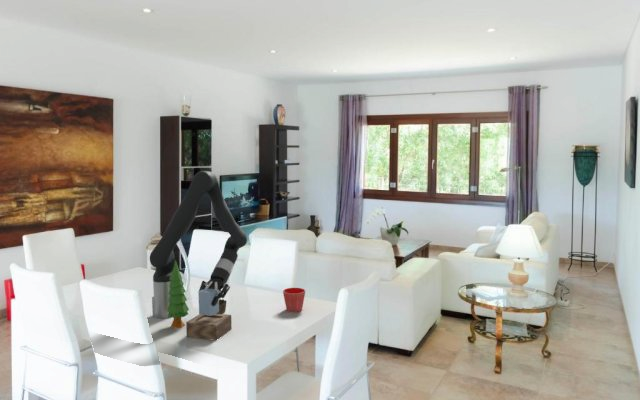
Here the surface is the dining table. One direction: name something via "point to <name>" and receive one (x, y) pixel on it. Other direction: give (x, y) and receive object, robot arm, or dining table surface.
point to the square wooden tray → (208, 326)
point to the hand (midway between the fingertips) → (206, 304)
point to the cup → (222, 306)
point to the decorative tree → (177, 298)
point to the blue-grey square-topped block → (207, 302)
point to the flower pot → (294, 299)
